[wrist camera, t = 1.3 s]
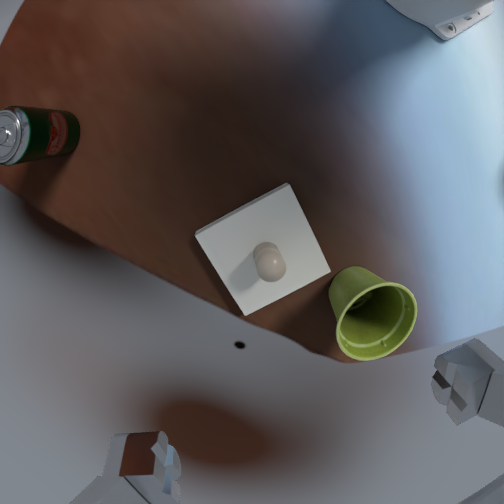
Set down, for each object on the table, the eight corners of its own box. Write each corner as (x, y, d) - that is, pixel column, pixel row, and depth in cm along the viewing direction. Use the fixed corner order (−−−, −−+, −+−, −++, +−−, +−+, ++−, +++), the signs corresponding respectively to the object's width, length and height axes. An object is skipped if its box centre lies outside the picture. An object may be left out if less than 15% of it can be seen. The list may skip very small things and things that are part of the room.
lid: (287, 183, 33) (298, 190, 29) (328, 268, 37) (342, 286, 32) (195, 233, 34) (191, 248, 30) (244, 311, 38) (248, 335, 33)
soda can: (80, 155, 31) (22, 166, 19) (43, 155, 30) (-21, 168, 19) (84, 110, 29) (26, 101, 18) (46, 112, 28) (-18, 108, 17)
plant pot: (330, 332, 41) (352, 374, 33) (302, 276, 38) (323, 314, 30) (391, 298, 40) (423, 332, 32) (370, 239, 37) (406, 266, 29)
